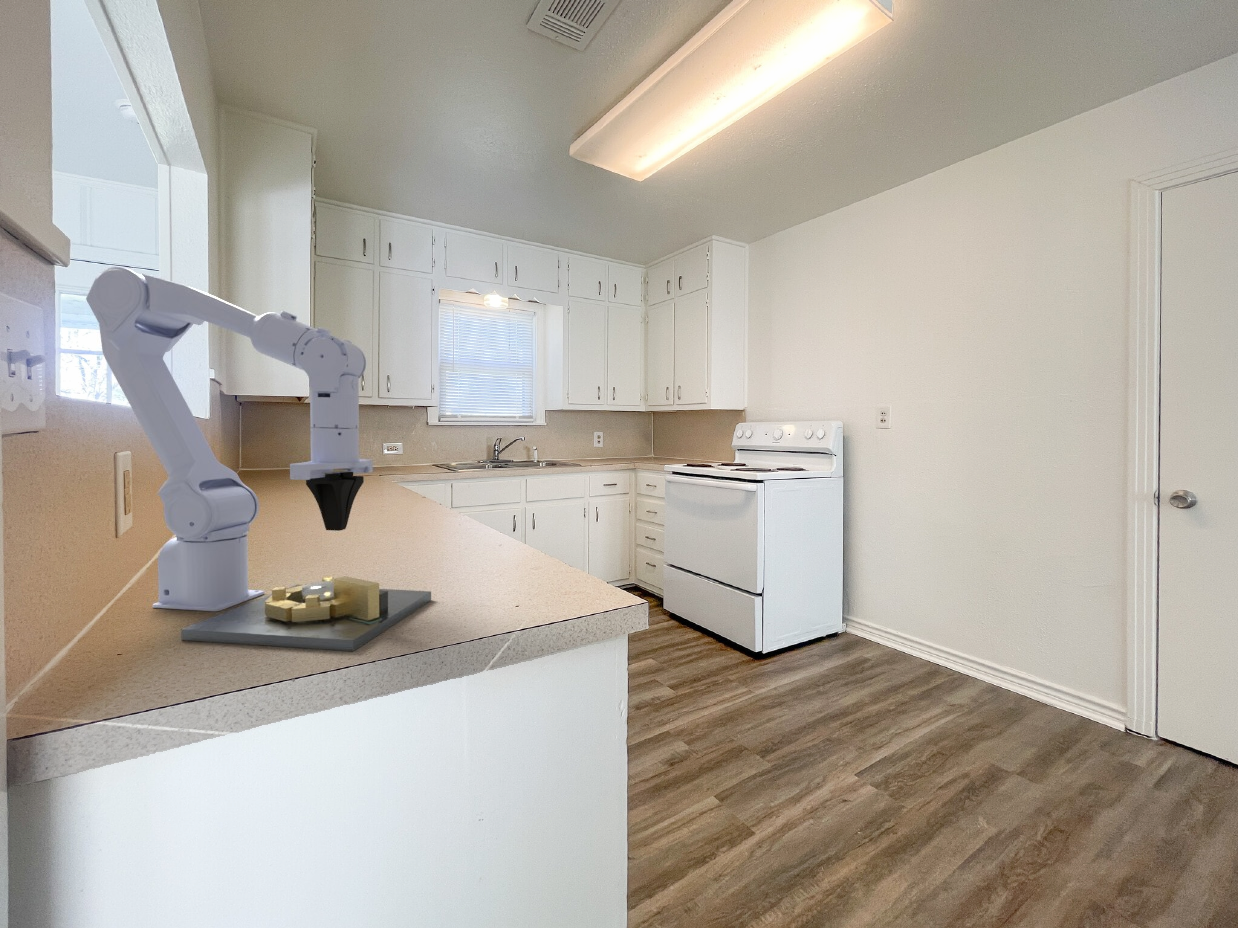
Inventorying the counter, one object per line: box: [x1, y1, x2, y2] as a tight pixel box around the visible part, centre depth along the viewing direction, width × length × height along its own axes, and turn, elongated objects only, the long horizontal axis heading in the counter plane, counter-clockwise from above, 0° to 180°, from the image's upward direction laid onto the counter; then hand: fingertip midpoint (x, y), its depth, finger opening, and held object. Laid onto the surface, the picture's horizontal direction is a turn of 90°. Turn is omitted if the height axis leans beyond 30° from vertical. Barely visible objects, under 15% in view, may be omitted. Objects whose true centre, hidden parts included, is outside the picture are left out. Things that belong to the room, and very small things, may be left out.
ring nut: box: [265, 574, 380, 622], centre depth 65 cm, size 15×11×4 cm
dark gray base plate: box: [180, 581, 432, 652], centre depth 66 cm, size 20×18×4 cm
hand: (335, 529), depth 72 cm, fingers closed
